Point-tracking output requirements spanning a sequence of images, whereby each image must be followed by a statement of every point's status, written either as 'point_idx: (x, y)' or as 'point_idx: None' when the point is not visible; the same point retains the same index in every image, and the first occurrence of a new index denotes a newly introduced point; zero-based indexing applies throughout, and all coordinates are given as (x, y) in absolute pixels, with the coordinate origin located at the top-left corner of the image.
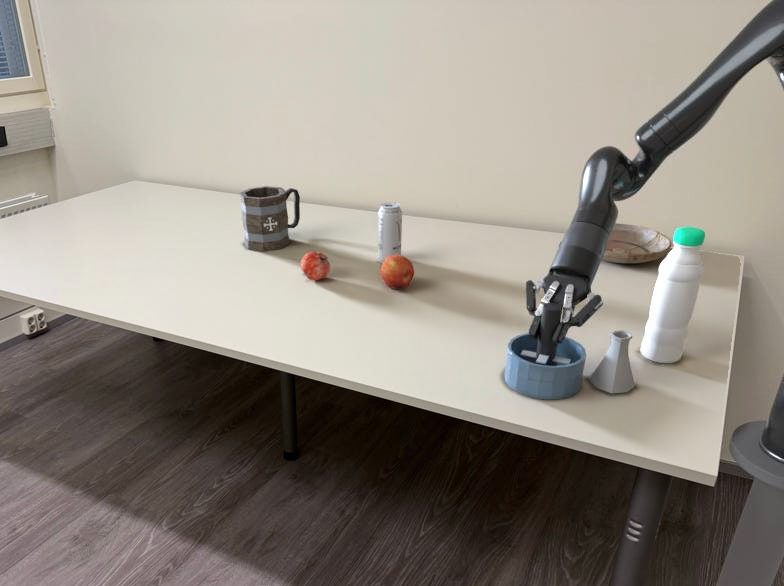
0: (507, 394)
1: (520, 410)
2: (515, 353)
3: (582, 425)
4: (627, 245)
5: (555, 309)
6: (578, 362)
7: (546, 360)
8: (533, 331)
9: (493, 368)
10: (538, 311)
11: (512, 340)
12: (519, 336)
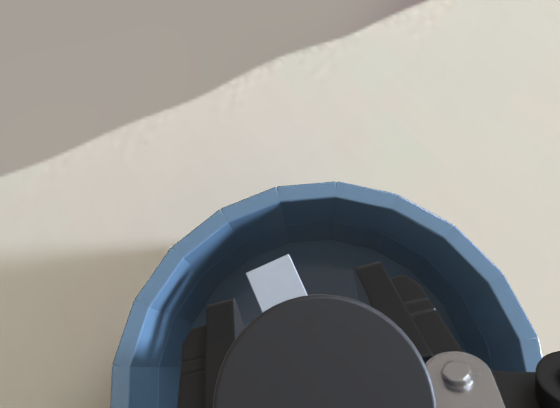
0: None
1: (241, 150)
2: None
3: (52, 230)
4: None
5: (248, 350)
6: (114, 386)
7: (257, 298)
8: (374, 275)
9: None
10: (460, 376)
11: (518, 324)
12: None
